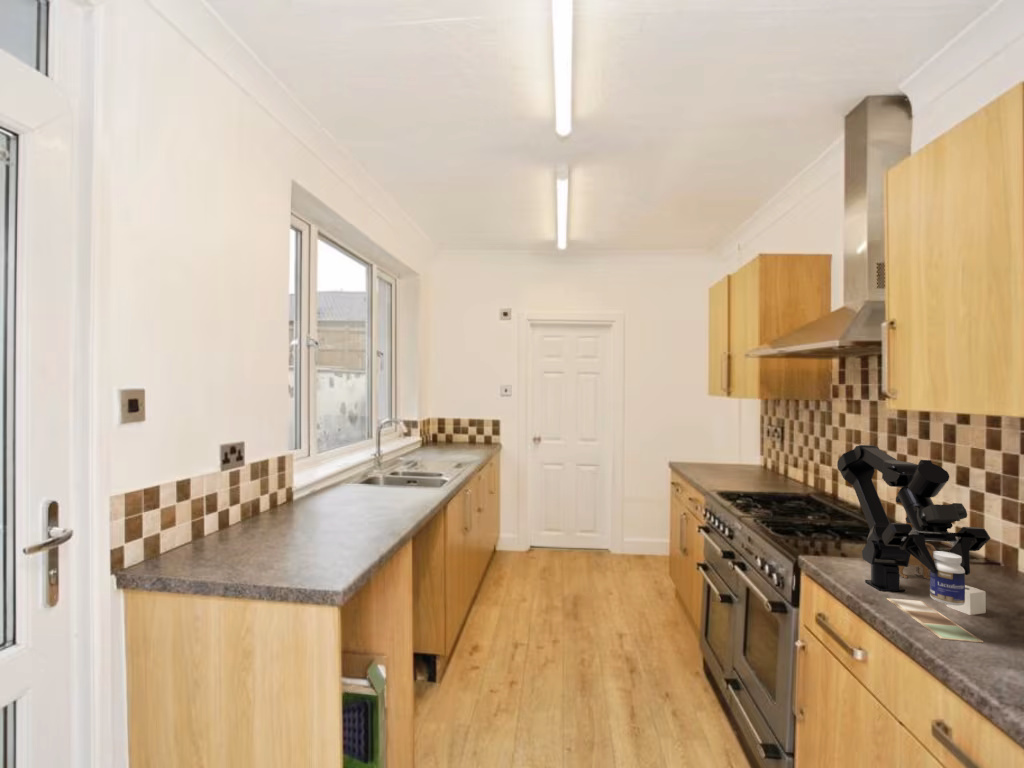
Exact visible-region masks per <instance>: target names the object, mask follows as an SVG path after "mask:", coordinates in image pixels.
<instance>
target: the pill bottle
mask: <svg viewBox="0 0 1024 768" xmlns="http://www.w3.org/2000/svg"><path fill="white" fill-rule="evenodd" d="M933 558H934V559H935V561H934V563H935V566H936V569H937V571H936V573H933V572H932V571H931V570H929V578H930V579H929V597H930V598H931V599H932V600H934V601H935V602H939V603H941V604H945V605H946V604H949V605H957V606H959V605H963V604H964V603H965V585H966V575H965V570H964V568H963V567H962V566H960V564H961V563H962V557H961V556H960V555H957V554H954V553H950V552H948V551H942V550H936V551H934V552H933Z"/></svg>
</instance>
